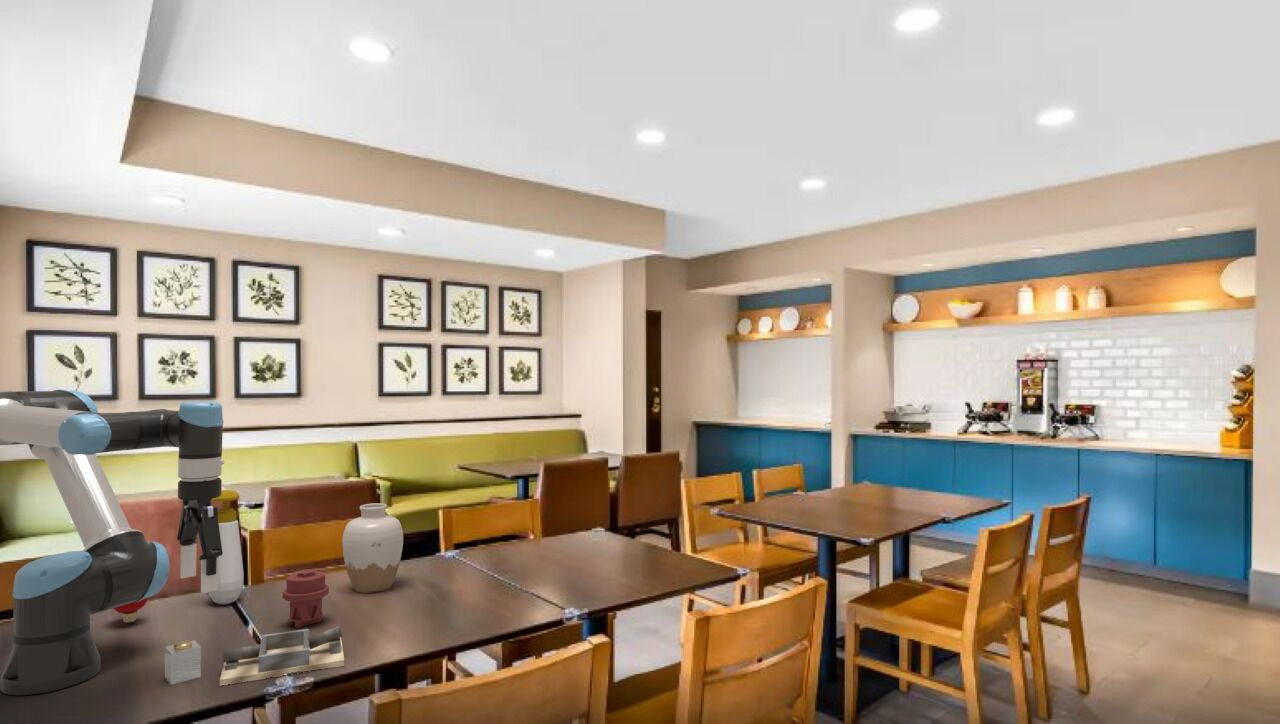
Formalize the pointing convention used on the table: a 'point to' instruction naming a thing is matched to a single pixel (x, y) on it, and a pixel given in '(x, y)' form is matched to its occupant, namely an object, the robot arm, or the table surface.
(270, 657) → the shaft bench
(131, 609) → the red mushroom
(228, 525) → the soap bottle
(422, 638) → the table surface
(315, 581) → the mechanical component
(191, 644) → the block
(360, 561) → the vase
